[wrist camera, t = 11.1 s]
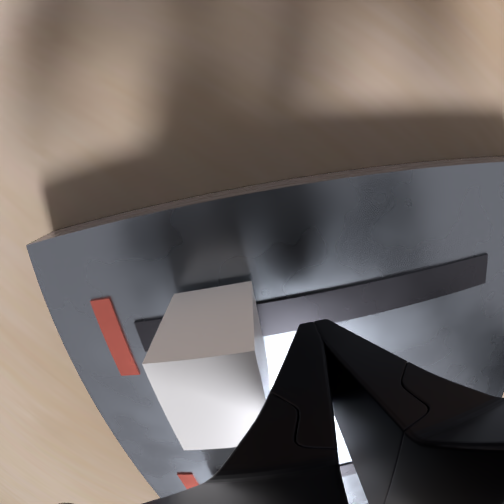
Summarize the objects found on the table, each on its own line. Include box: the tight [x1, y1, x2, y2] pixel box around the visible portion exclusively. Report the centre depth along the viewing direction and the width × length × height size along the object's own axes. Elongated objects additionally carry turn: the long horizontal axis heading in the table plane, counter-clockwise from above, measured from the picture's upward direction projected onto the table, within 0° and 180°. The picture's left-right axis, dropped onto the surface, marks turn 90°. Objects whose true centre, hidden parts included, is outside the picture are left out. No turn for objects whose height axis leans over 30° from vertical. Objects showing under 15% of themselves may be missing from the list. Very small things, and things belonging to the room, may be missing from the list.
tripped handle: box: [142, 281, 270, 450], centre depth 8 cm, size 2×3×4 cm
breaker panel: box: [26, 156, 504, 504], centre depth 14 cm, size 20×28×2 cm
